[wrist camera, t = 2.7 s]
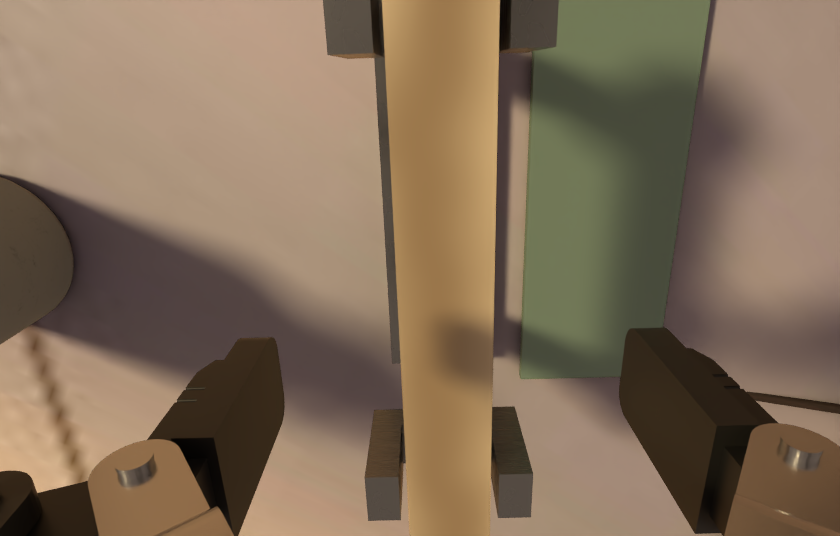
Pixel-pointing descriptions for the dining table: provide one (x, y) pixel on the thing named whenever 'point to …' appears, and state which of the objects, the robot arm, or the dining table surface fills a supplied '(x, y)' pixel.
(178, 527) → the robot arm
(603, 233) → the rubber mat
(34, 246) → the water bottle
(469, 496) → the beech rail
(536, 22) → the rail stand
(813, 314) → the dining table surface
